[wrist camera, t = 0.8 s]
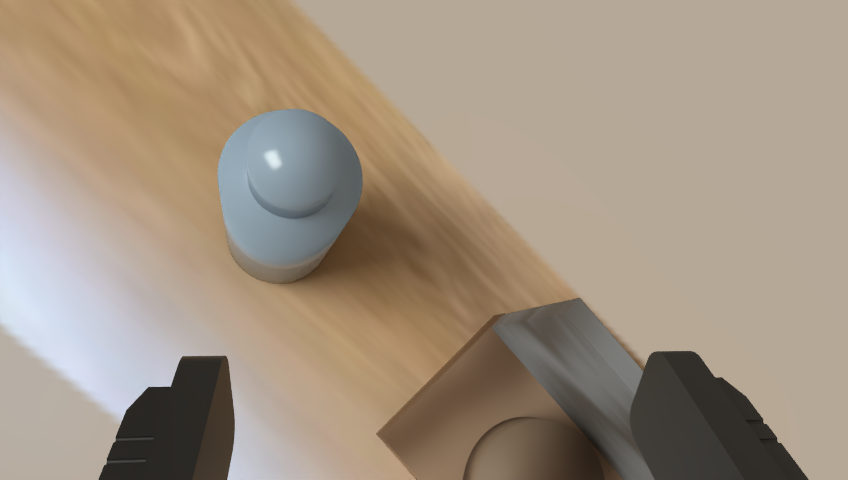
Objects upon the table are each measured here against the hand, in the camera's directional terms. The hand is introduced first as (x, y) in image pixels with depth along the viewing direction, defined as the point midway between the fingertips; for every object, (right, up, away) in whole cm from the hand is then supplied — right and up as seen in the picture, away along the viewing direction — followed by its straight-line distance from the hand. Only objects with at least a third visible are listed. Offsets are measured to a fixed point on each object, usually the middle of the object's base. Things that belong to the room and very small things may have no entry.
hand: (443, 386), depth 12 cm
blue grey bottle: (-8, +3, +20) cm, 22 cm away
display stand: (+5, -10, +21) cm, 24 cm away
